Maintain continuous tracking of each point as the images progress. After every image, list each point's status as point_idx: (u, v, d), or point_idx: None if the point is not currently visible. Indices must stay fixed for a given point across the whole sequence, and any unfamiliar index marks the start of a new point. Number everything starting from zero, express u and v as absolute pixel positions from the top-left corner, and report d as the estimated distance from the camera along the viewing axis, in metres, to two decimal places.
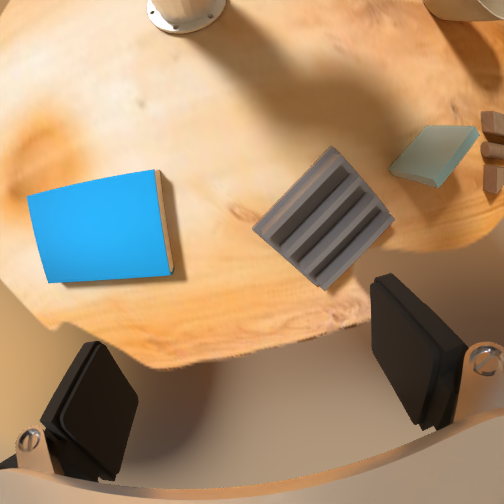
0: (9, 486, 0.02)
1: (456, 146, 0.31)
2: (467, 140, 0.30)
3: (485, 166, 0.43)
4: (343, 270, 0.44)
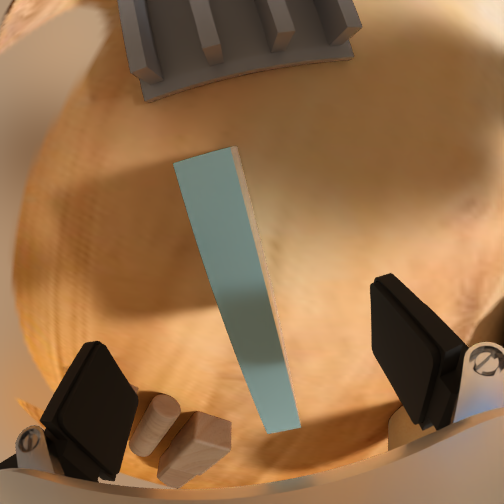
0: (8, 486, 0.02)
1: (281, 344, 0.10)
2: (281, 393, 0.11)
3: None
4: None
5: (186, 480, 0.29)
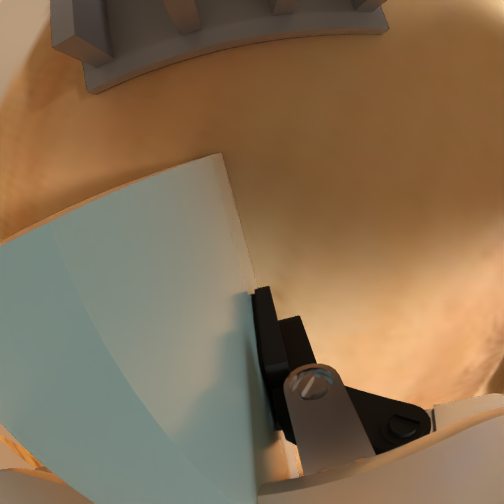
0: (9, 486, 0.02)
1: None
2: None
3: None
4: None
5: None
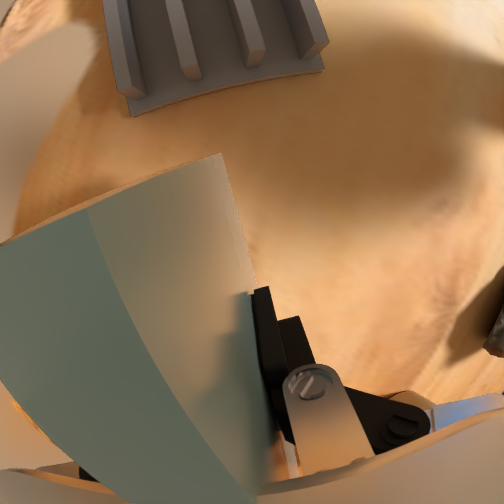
0: (8, 486, 0.02)
1: None
2: None
3: None
4: None
5: None
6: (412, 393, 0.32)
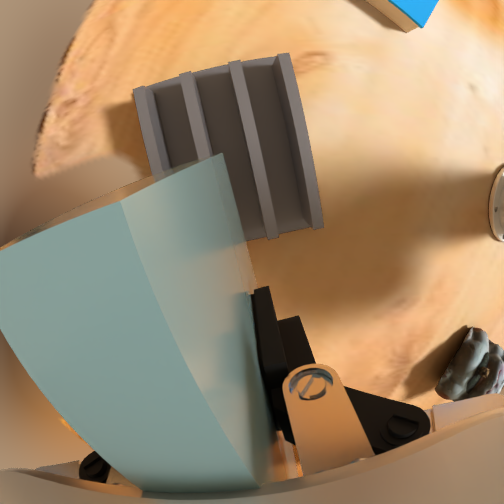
0: (9, 486, 0.02)
1: None
2: None
3: None
4: (145, 134, 0.22)
5: None
6: None
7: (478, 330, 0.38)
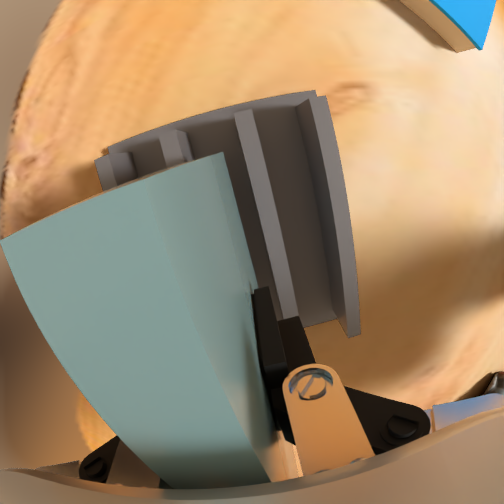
0: (9, 487, 0.02)
1: None
2: None
3: None
4: None
5: None
6: None
7: (502, 375, 0.30)
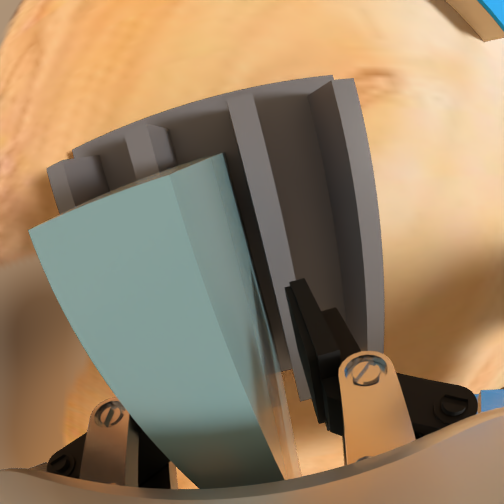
0: (8, 486, 0.02)
1: None
2: None
3: None
4: None
5: None
6: None
7: None
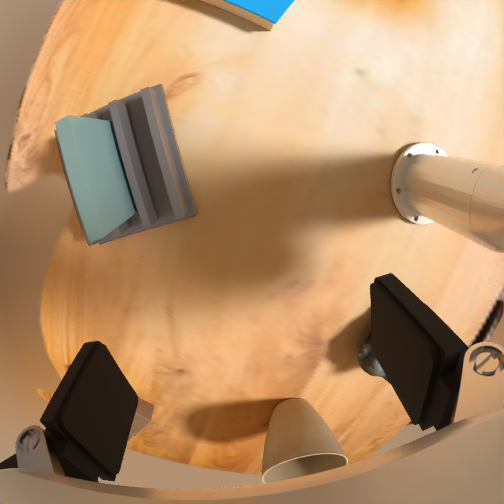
0: (8, 486, 0.02)
1: (89, 185, 0.23)
2: (89, 209, 0.23)
3: None
4: (63, 160, 0.29)
5: None
6: (299, 400, 0.50)
7: None
